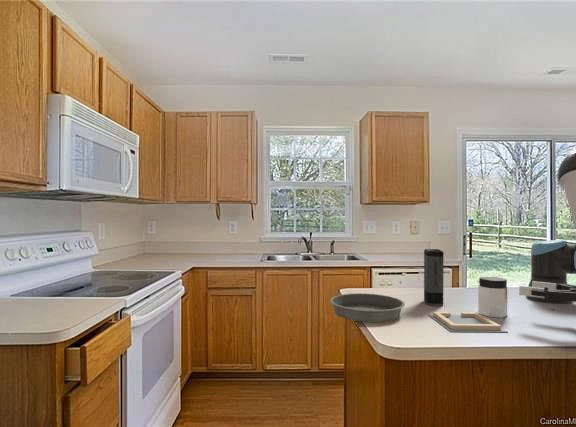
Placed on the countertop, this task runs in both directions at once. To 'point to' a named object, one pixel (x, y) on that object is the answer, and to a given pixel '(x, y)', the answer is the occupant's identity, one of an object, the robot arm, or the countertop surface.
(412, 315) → the countertop surface
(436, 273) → the electronic device
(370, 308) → the cake pan
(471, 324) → the beige flat piece
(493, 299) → the jar
